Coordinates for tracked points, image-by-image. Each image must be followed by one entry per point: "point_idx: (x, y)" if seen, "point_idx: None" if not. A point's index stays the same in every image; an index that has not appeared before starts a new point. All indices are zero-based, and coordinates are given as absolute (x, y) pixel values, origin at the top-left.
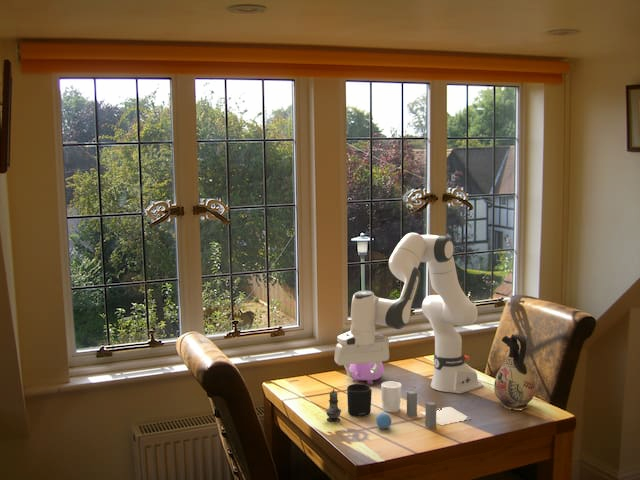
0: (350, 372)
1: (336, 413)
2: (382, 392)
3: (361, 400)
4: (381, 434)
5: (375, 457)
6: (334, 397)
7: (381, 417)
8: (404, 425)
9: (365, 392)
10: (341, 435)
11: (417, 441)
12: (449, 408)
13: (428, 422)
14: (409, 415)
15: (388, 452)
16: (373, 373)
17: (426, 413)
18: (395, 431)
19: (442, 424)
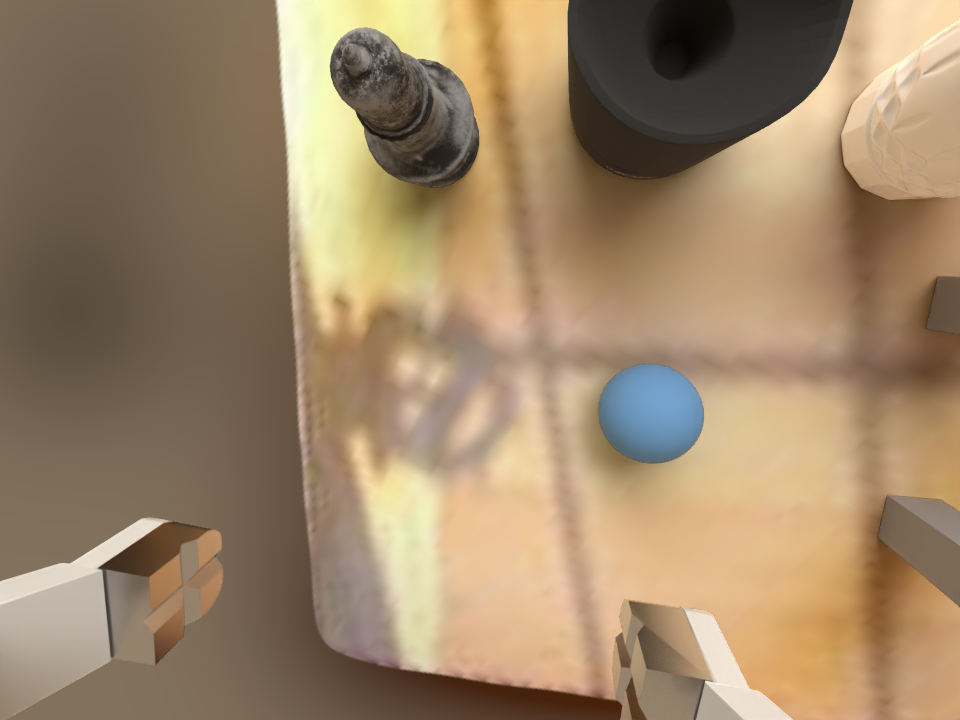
0: (126, 644)
1: (414, 183)
2: (948, 72)
3: (637, 156)
4: (577, 461)
5: (414, 637)
6: (371, 118)
7: (623, 441)
8: (780, 423)
9: (696, 146)
10: (379, 371)
11: None
12: None
13: (908, 547)
14: (933, 315)
15: (491, 631)
16: (623, 681)
17: (958, 559)
18: (672, 466)
19: None
